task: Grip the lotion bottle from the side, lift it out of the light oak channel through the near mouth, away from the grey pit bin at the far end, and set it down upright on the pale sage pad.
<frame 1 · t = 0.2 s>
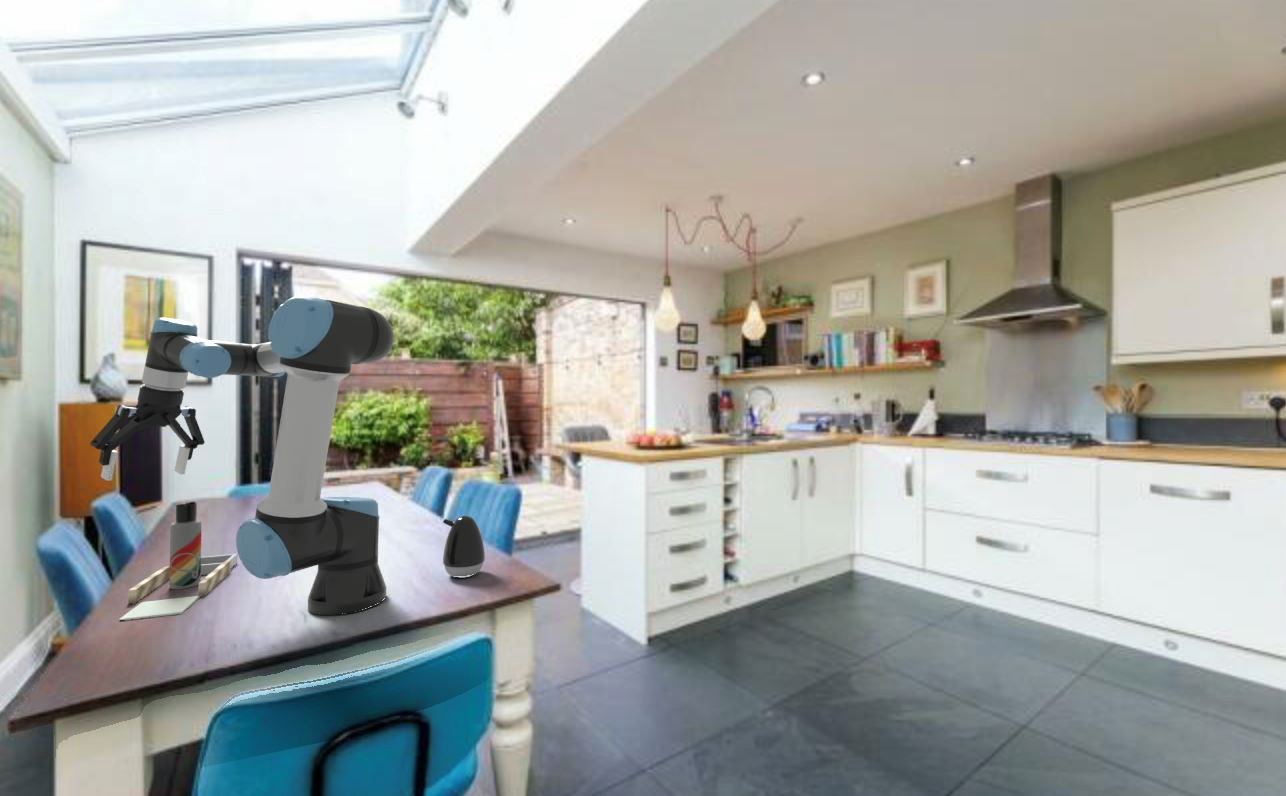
hand: (144, 475, 123), 27 cm above the table, tool tilted 15°, fingers open, 13 cm apart
oak channel: (183, 586, 127), on the table
pump dispenser: (463, 576, 137), on the table
pit bin: (204, 570, 139), on the table
lotion bottle: (185, 586, 128), on the table
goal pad: (161, 608, 114), on the table
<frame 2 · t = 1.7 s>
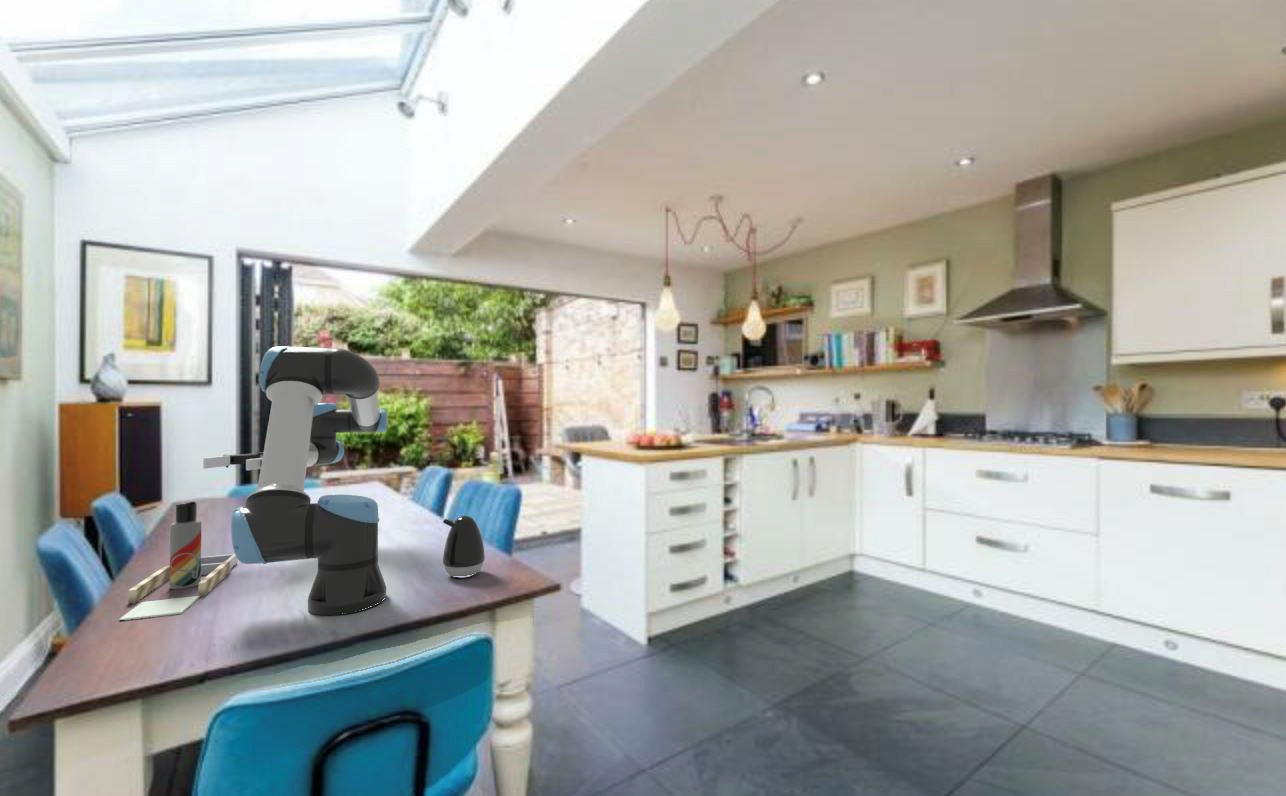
hand: (225, 464, 137), 28 cm above the table, tool horizontal, fingers open, 13 cm apart
nothing on the table moved.
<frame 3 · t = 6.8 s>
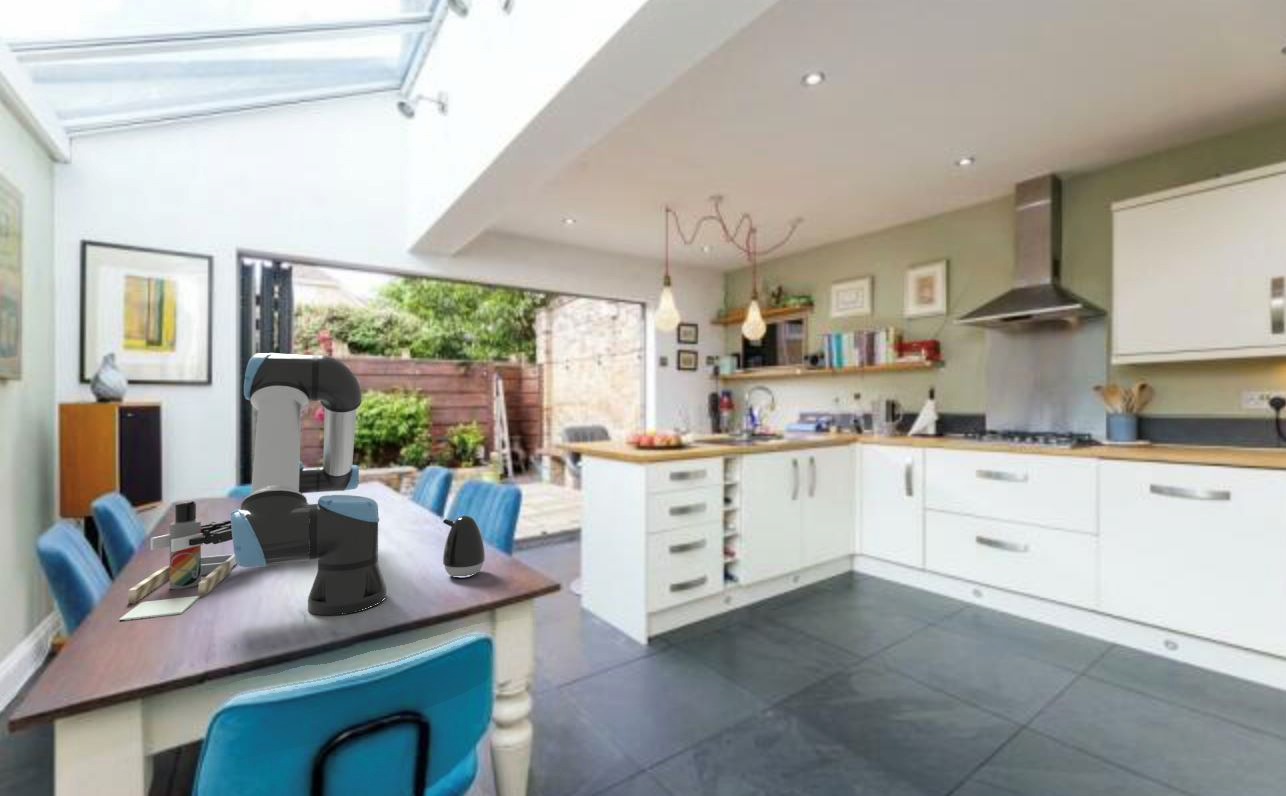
hand: (162, 544, 123), 11 cm above the table, tool horizontal, fingers closed on lotion bottle, 5 cm apart
lotion bottle: (185, 586, 128), on the table, touching gripper
everything else where it was.
when the fingers open (13 cm above the table, at t = 11.7 s): lotion bottle drops 1 cm, resting on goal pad.
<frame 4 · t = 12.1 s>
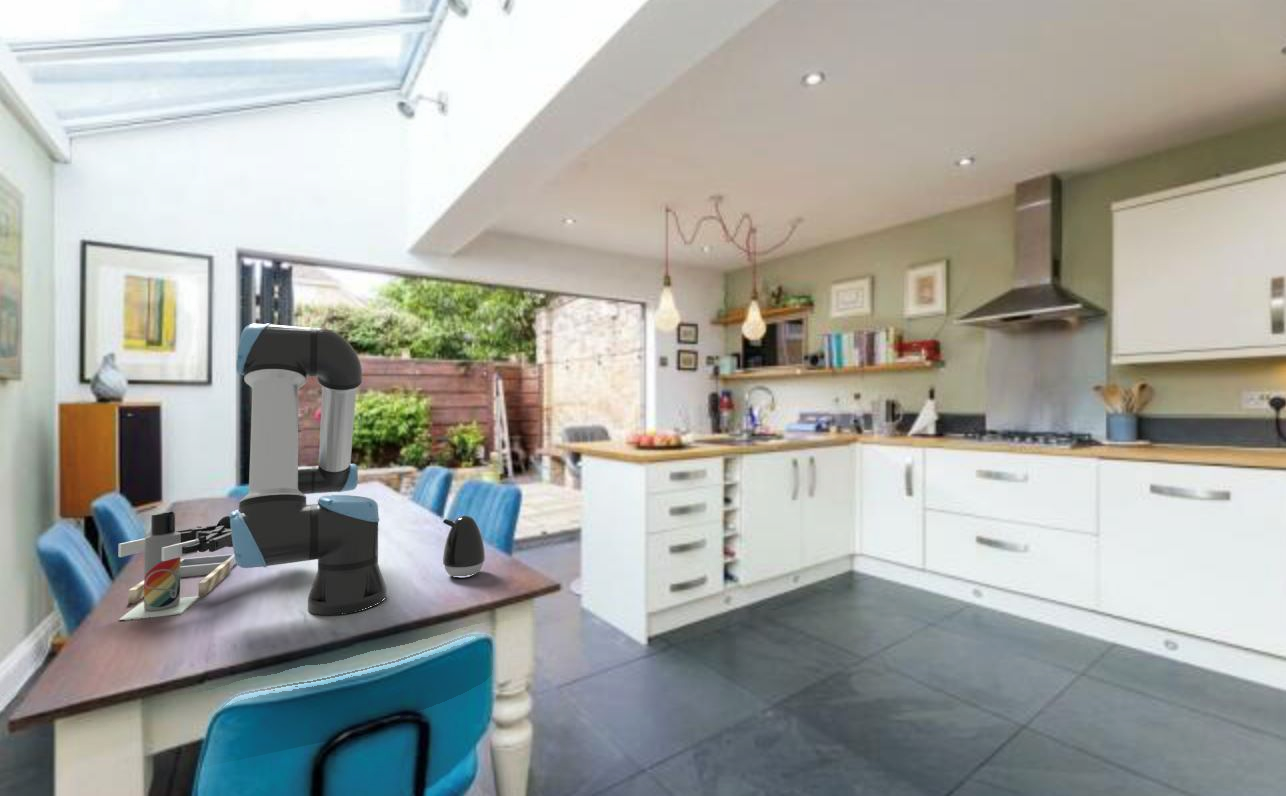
hand: (141, 552, 110), 13 cm above the table, tool horizontal, fingers open, 11 cm apart
lotion bottle: (162, 607, 113), resting on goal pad
everything else where it was.
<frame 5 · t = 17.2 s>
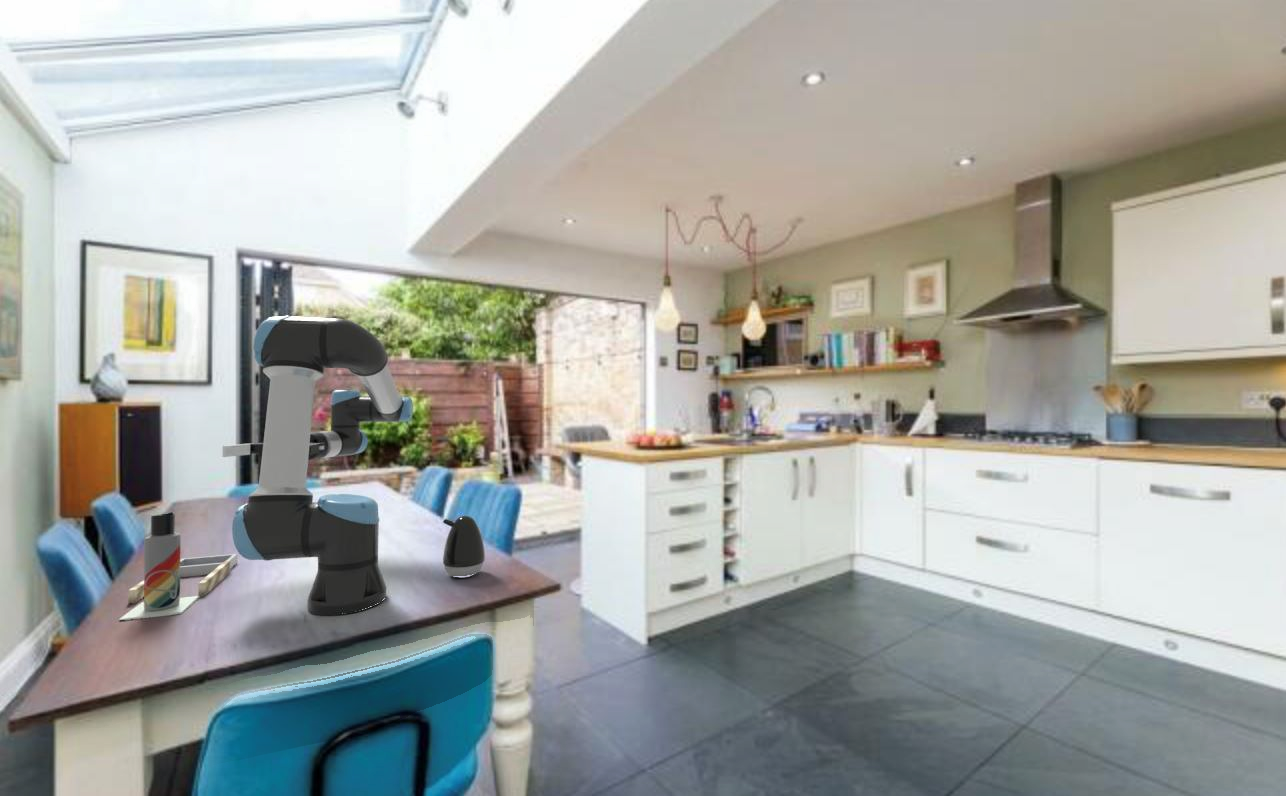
hand: (246, 452, 128), 32 cm above the table, tool horizontal, fingers open, 13 cm apart
nothing on the table moved.
at the end: lotion bottle inside the target area (0.1 cm from its centre), resting on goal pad; lotion bottle tilted 0°; the gripper is holding nothing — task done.
